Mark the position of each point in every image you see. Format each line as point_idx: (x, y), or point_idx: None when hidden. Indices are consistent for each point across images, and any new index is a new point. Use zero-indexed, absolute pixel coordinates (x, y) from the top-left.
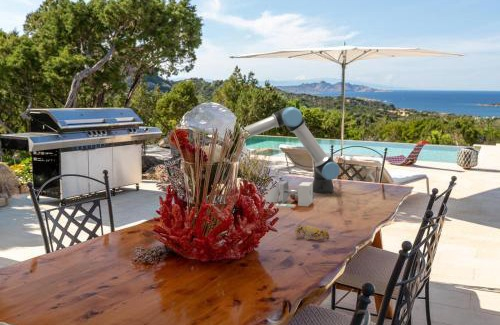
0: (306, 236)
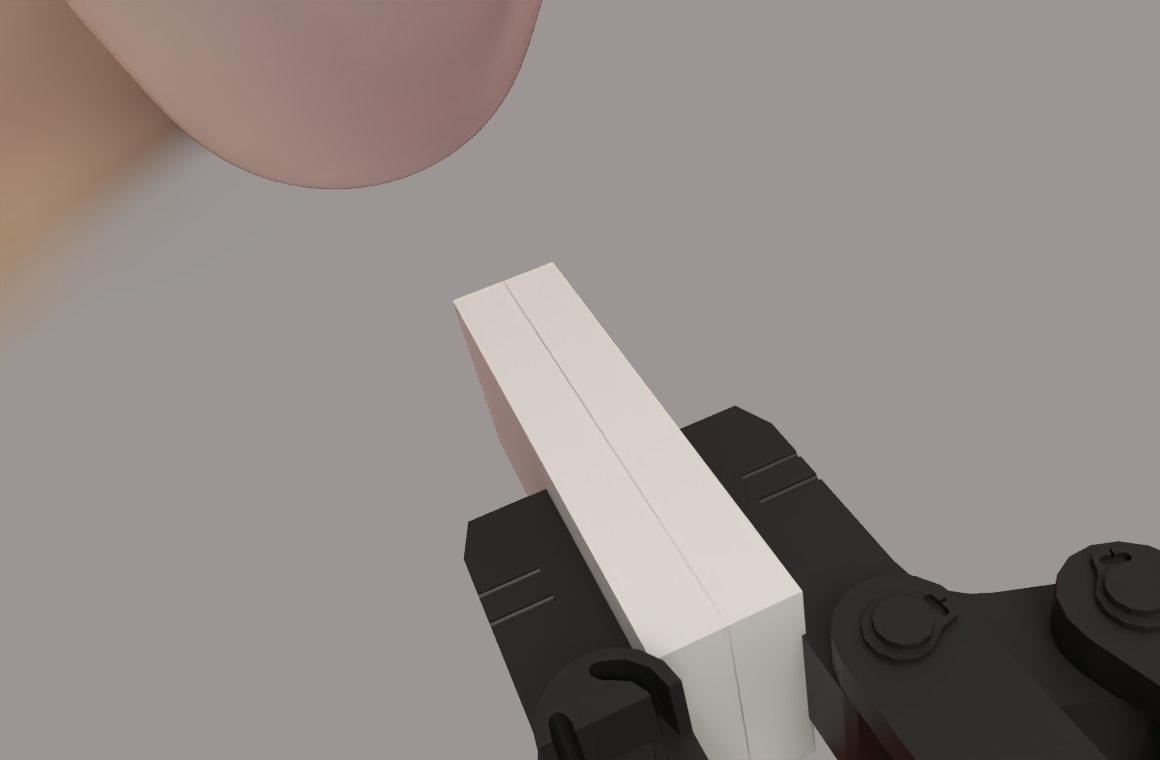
0: None
